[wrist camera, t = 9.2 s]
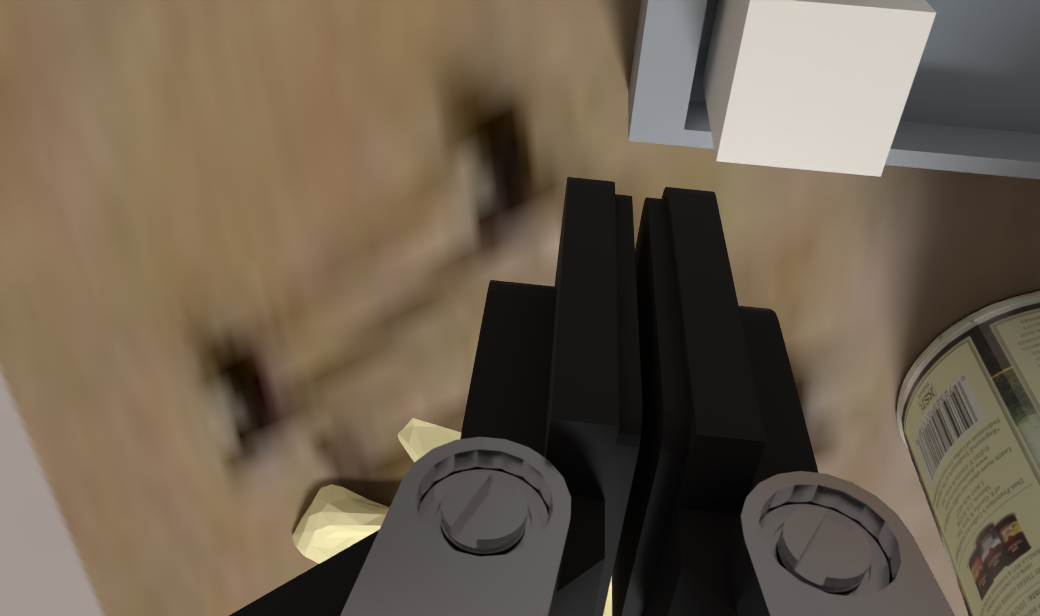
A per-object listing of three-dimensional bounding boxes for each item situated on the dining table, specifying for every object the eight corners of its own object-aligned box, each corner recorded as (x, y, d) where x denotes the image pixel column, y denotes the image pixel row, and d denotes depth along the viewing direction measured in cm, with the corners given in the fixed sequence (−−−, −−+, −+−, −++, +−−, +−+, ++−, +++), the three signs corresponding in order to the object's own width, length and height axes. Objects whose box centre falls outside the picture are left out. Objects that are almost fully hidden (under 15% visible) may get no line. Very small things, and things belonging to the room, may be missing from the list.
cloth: (757, 615, 44) (773, 735, 39) (456, 689, 51) (437, 799, 46) (530, 298, 34) (513, 408, 29) (191, 446, 41) (131, 554, 36)
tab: (882, -50, 23) (936, 12, 19) (840, 95, 25) (880, 176, 21) (729, -62, 23) (751, -4, 19) (702, 82, 26) (716, 161, 22)
